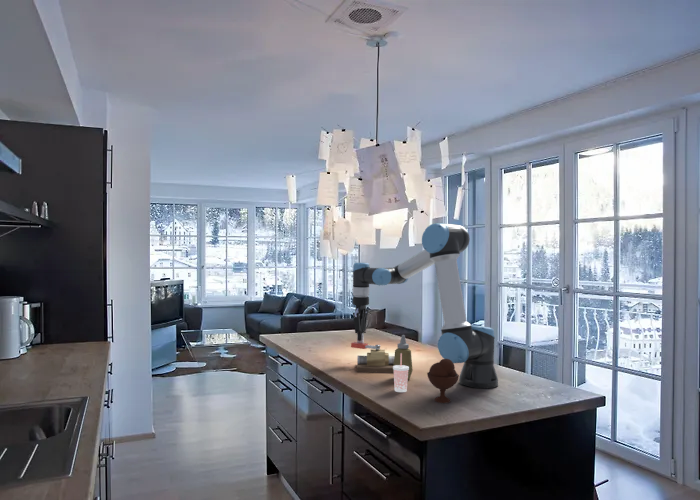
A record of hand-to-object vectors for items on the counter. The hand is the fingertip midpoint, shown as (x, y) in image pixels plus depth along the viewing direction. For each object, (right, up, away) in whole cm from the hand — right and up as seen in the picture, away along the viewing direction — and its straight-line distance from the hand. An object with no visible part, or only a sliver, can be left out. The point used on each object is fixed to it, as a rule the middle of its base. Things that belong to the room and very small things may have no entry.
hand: (360, 347), depth 237 cm
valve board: (+8, -8, -7) cm, 13 cm away
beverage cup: (+14, -9, -43) cm, 46 cm away
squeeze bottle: (+17, -9, -25) cm, 31 cm away
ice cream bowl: (+28, -9, -55) cm, 62 cm away
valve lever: (+3, 0, -4) cm, 5 cm away
